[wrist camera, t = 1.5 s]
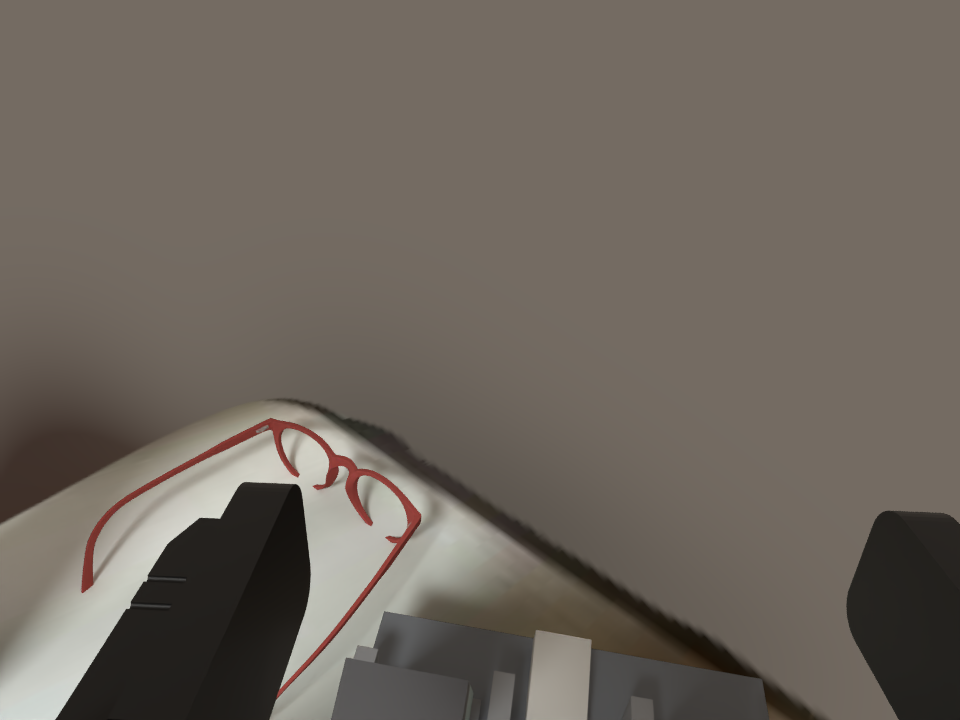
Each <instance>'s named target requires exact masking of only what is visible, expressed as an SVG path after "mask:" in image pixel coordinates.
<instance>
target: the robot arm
mask: <svg viewBox="0 0 960 720" xmlns="http://www.w3.org/2000/svg"><path fill="white" fill-rule="evenodd" d="M310 576H311V570H310V559H309V550H308V541H307V533H306V524H305V516H304V507H303V499H302V493H301V489H300V487H299V486H298V485H297V484H277V483H253V482H244V483H242V484H241V485H240V486H239V487H238V488H237V490H236V492H235V493H234V495H233V497H232V499H231V501H230V502H229V504H228V506H227V508H226V509H225V511H224V513H223V515H222V516H221V518H220V519H215V518H199V519H198V520H197V521H195V522H194V523H193V524H192V525H190V526H189V527H188V528H187V529H186V530H184V531H183V532H182V533H181V534H179V535H178V536H177V537H176V538H174V539H173V540H172V541H171V542H169V543H168V544H167V546H166V547H165V549H164V551H163V552H162V554H161V555H160V557H159V558H158V560H157V562H156V563H155V565H154V566H153V568H152V569H151V571H150V573H149V574H148V580H147V582H143V584H142V585H141V587H140V588H139V590H138V591H137V593H136V595H135V596H134V598H133V599H132V601H131V606H130V609H126V610H125V612H124V613H123V615H122V616H121V618H120V620H119V621H118V623H117V624H116V626H115V627H114V629H113V631H112V632H111V634H110V635H109V637H108V638H107V640H106V642H105V643H104V645H103V646H102V648H101V649H100V651H99V653H98V654H97V656H96V657H95V659H94V660H93V662H92V664H91V665H90V667H89V668H88V670H87V671H86V673H85V675H84V676H83V678H82V679H81V681H80V682H79V684H78V685H77V687H76V689H75V690H74V692H73V693H72V695H71V696H70V698H69V700H68V701H67V703H66V704H65V706H64V707H63V709H62V711H61V712H60V714H59V715H58V717H57V718H56V719H55V720H269V719H270V716H271V713H272V710H273V707H274V704H275V701H276V698H277V695H278V692H279V689H280V686H281V683H282V680H283V677H284V674H285V671H286V668H287V665H288V662H289V659H290V656H291V653H292V650H293V647H294V644H295V641H296V638H297V635H298V632H299V629H300V626H301V623H302V620H303V617H304V614H305V611H306V607H307V602H308V597H309V590H310ZM847 618H848V623H849V627H850V630H851V633H852V636H853V637H854V640H855V642H856V644H857V646H858V647H859V649H860V651H861V653H862V654H863V656H864V658H865V660H866V662H867V663H868V665H869V667H870V669H871V671H872V672H873V674H874V676H875V678H876V680H877V681H878V683H879V685H880V687H881V688H882V690H883V692H884V694H885V696H886V697H887V699H888V701H889V703H890V705H891V706H892V708H893V710H894V712H895V714H896V715H897V717H898V719H899V720H960V524H959V523H958V522H957V521H956V520H955V519H954V518H953V517H951V516H950V515H947V514H944V513H928V512H905V511H904V512H903V511H885V512H882V513H881V514H880V515H879V516H878V517H877V518H876V519H875V522H874V524H873V526H872V529H871V532H870V534H869V537H868V540H867V543H866V545H865V548H864V550H863V553H862V556H861V559H860V561H859V564H858V567H857V569H856V572H855V575H854V578H853V580H852V583H851V586H850V588H849V591H848V596H847Z"/></svg>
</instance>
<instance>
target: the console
mask: <svg viewBox="0 0 960 720" xmlns="http://www.w3.org/2000/svg"><path fill="white" fill-rule="evenodd" d="M354 659H356V660H362V661H367V662H373V663H378V664H383V665H389V666H394V667H399V668H405V669H410V670H416V671H421V672H426V673H432V674H437V675H442V676H448V677H453V678H458V679H464V680H469V683H470V685H471V688H472V690H473V693H474V695H473V698H475V699H480V700H481V706H480V713H479V719H478V720H769V716H768V710H767V705H766V699H765V694H764V688H763V683H762V679H758V678H752V677H747V676H741V675H736V674H730V673H725V672H719V671H713V670H708V669H702V668H697V667H691V666H686V665H680V664H674V663H669V662H663V661H658V660H652V659H647V658H641V657H636V656H630V655H624V654H619V653H613V652H608V651H602V650H597V649H591V639H585V638H580V637H574V636H568V635H563V634H557V633H552V632H546V631H540V630H536V632H535V636H534V638H530V637H524V636H519V635H513V634H507V633H502V632H496V631H491V630H485V629H480V628H474V627H468V626H463V625H457V624H452V623H446V622H441V621H435V620H430V619H424V618H418V617H413V616H407V615H402V614H396V613H391V612H385V611H384V614H383V617H382V621H381V624H380V627H379V631H378V634H377V637H376V641H375V644H374V647H373V648H369V647H364V646H359V645H358V646H357V649H356V652H355V656H354Z"/></svg>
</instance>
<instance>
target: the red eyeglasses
mask: <svg viewBox="0 0 960 720" xmlns="http://www.w3.org/2000/svg"><path fill="white" fill-rule="evenodd" d="M286 428H291V429H295V430H299V431H301V432H303V433H305V434H307V435H308V436H310V437H311V438H313V439H314V440H315V441H317V442H318V443H319V444H320V445H321V446H322V448H323V449H324V450H325V452H326V454H327V456H328V458H329V470H328V473H327V475H326V483H325V484H324V485H314V486H313V487H314V488H316V489H317V490H319V489H323V488H326V487H329V486H330V485H332V484H333V483H334V481H335V480H336V478H337V475H338V472H339V468H338V466H344V467H346V468H347V469H348V470H349V476H348V478H347V481H346V486H345V489H346V492H347V495H348V497H349V499H350V501H351V503H352V504H353V506H354V508H355V509H356V511H357V512H358V513H359V515H360V516H361V517H362V519H363V520H364V521H365V523H367V524H368V525H370V526H372V524H373V522H372V521H371V520H370V518H369V517H368V515H367V514H366V512H365V510H364V509H363V507H362V505H361V502H360V499H359V496H358V492H357V482H358V479H359V477H360V476H363V475H367V476H371V477H373V478H375V479H377V480H379V481H381V482H382V483H383V484H385V485H386V486H387V487H388V488H390V489H391V490H392V491H393V492H394V493H395V494H396V496H397V497H398V498H399V499H400V501H401V502H402V504H403V506H404V509H405V511H406V515H407V521H408V524H407V529H406V531H405V533H404V534H403V536H402V537H400V538H395V537H392V536H388V537H385V538H386V539H388V540H389V541H390V542H392V543H397V544H396V546H395V547H394V549H393V550H392V552H391V553H390V555H389V556H388V558H387V559H386V561H385V562H384V563H383V565H382V566H381V568H380V569H379V571H378V572H377V574H376V575H375V576H374V578H373V579H372V580H371V582H370V583H369V584H368V586H367V587H366V588H365V590H364V591H363V592H362V594H361V595H360V596H359V597H358V599H357V600H356V601H355V603H354V604H353V605H352V607H351V608H350V609H349V611H348V612H347V613H346V614H345V616H344V617H343V618H342V620H341V621H340V622H339V623H338V625H337V626H336V627H335V628H334V630H333V631H332V632H331V633H330V634H329V636H328V637H327V638H326V639H325V640H324V642H323V643H322V644H321V645H320V646H319V647H318V649H317V650H316V651H315V652H314V653H313V654H312V655H311V656H310V657H309V659H308V660H307V661H306V662H305V663H304V664H303V665H302V666H301V667H300V668H299V669H298V670H297V672H296V673H295V674H294V675H293V676H292V677H291V678H290V679H289V680H288V681H287V682H286V683H285V685H284V686H283V687H282V688H281V689H280V690H279V692H278V695H277V698H278V697H279V696H280V695H281V694H282V693H283V692H284V691H285V689H286V688H287V687H288V686H289V685H290V684H291V683H292V682H293V681H294V680H295V679H296V678H297V677H298V676H299V675H300V674H301V673H302V672H303V671H304V670H305V669H306V668H307V667H308V666H309V665H310V664H311V663H312V662H313V661H314V660H315V658H316V657H317V656H318V655H319V654H320V653H321V652H322V651H323V650H324V649H325V648H326V647H327V645H328V644H329V643H330V642H331V641H332V640H333V639H334V637H335V636H336V635H337V634H338V633H339V631H340V630H341V629H342V628H343V626H344V625H345V624H346V623H347V621H348V620H349V619H350V618H351V616H352V615H353V614H354V613H355V611H356V610H357V609H358V607H359V606H360V605H361V604H362V602H363V601H364V600H365V598H366V597H367V596H368V594H369V593H370V592H371V590H372V589H373V588H374V586H375V585H376V584H377V582H378V581H379V580H380V579H381V577H382V576H383V575H384V574H385V572H386V571H387V570H388V569H389V567H390V566H391V565H392V563H393V562H394V560H395V559H396V557H397V556H398V555H399V553H400V552H401V550H402V549H403V547H404V546H405V544H406V543H407V542H408V540H409V539H410V537H411V536H412V534H413V533H414V532H415V530H416V529H417V527H418V526H419V525H420V523H421V514H420V513H419V512H418V511H417V509H416V508H415V507H414V506H413V505H412V503H411V502H410V501H409V500H408V498H407V497H406V496H405V495H404V494H403V493H402V492H401V491H400V490H399V489H398V488H397V487H396V486H395V485H394V484H393V483H392V482H391V481H389V480H388V479H387V478H385V477H384V476H382V475H380V474H379V473H377V472H375V471H372V470H368V469H358V468H357V467H356V465H355V464H354V462H353V461H352V460H351V459H349V458H348V457H345V456H340V455H335V453H334V452H333V451H332V449H331V448H330V446H329V445H328V444H327V443H326V442H325V441H324V440H323V439H322V438H321V437H320V436H318V435H317V434H316V433H314V432H313V431H311V430H309V429H307V428H305V427H303V426H300V425H298V424H295V423H291V422H286V421H280V420H276V419H273V418H270V419H267V420H265V421H263V422H261V423H259V424H257V425H255V426H253V427H251V428H249V429H247V430H245V431H243V432H241V433H239V434H237V435H235V436H233V437H231V438H229V439H227V440H225V441H223V442H221V443H220V444H218V445H216V446H214V447H213V448H211V449H209V450H208V451H206V452H204V453H202V454H200V455H199V456H197V457H195V458H193V459H191V460H189V461H187V462H186V463H184V464H182V465H180V466H178V467H176V468H174V469H172V470H171V471H169V472H167V473H165V474H163V475H162V476H160V477H158V478H156V479H154V480H153V481H151V482H149V483H147V484H146V485H144V486H142V487H141V488H139V489H137V490H136V491H134V492H132V493H131V494H129V495H127V496H126V497H124V498H123V499H122V500H120V501H119V502H117V503H116V504H115V505H114V506H113V507H112V508H110V509H109V510H108V511H107V512H106V513H105V515H104V516H103V517H102V518H101V519H100V521H99V522H98V523H97V525H96V526H95V528H94V529H93V531H92V533H91V535H90V537H89V540H88V542H87V546H86V551H85V558H84V565H83V575H82V591H81V592H82V593H84V592H85V591H86V590H87V589H89V588H90V587H91V586H92V585H93V551H94V546H95V542H96V540H97V537H98V535H99V533H100V531H101V530H102V528H103V527H104V525H105V524H106V522H107V521H108V520H109V518H110V517H111V516H112V515H113V514H114V513H115V512H116V511H117V510H118V509H120V508H121V507H122V506H123V505H125V504H126V503H128V502H129V501H131V500H132V499H134V498H136V497H137V496H139V495H140V494H142V493H144V492H146V491H147V490H149V489H151V488H153V487H154V486H156V485H158V484H160V483H161V482H163V481H165V480H167V479H169V478H170V477H172V476H174V475H176V474H178V473H180V472H182V471H184V470H186V469H187V468H189V467H191V466H193V465H195V464H197V463H199V462H201V461H203V460H205V459H207V458H209V457H211V456H213V455H215V454H218V453H220V452H222V451H224V450H226V449H229V448H231V447H233V446H235V445H237V444H239V443H241V442H243V441H245V440H247V439H249V438H251V437H253V436H256V435H258V434H260V433H262V432H264V431H267V430H272V431H273V435H274V440H275V444H276V448H277V451H278V454H279V456H280V458H281V460H282V462H283V463H284V465H285V466H286V468H287V469H288V470H289V472H290V473H291V474H292V475H294V476H296V477H299V475H300V474H299V473H298V472H297V471H296V470H295V469H294V468H293V467H292V465H291V464H290V462H289V461H288V459H287V457H286V455H285V453H284V450H283V447H282V443H281V434H282V432H283V430H284V429H286ZM277 698H276V699H277Z"/></svg>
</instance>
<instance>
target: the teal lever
mask: <svg viewBox="0 0 960 720" xmlns="http://www.w3.org/2000/svg"><path fill="white" fill-rule="evenodd" d="M473 695H474V693H473V690H472V688H471V685H470V683H469V680H464V679H458V678H453V677H448V676H442V675H437V674H432V673H426V672H421V671H416V670H410V669H405V668H399V667H394V666H389V665H383V664H378V663H373V662H367V661H362V660H356V659H351V658H346V660H345V664H344V668H343V672H342V677H341V681H340V685H339V689H338V693H337V697H336V702H335V706H334V710H333V714H332V718H331V720H478V719H479V713H480V706H481V700H480V699H475V698H473Z"/></svg>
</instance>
